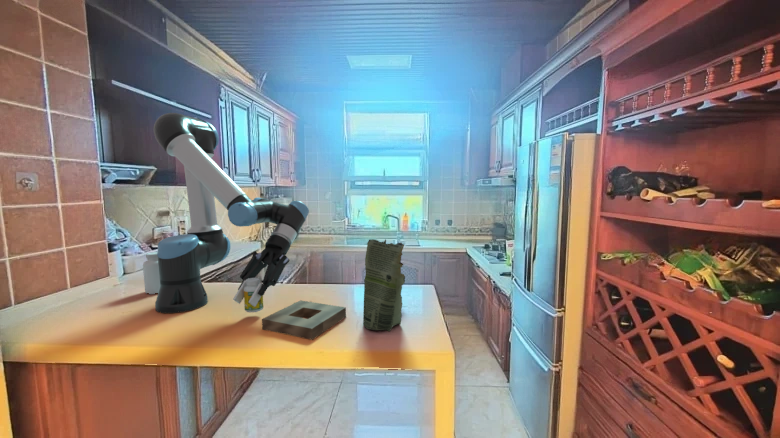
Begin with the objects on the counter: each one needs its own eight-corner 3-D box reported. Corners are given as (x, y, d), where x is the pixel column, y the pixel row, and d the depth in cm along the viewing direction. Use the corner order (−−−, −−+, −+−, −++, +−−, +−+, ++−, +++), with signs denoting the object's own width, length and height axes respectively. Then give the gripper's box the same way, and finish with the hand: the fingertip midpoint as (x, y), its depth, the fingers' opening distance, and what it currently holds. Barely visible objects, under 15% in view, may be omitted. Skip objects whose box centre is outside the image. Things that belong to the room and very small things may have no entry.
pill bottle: (139, 294, 130) (136, 254, 128) (157, 287, 138) (154, 250, 136) (158, 295, 128) (155, 255, 127) (174, 288, 136) (172, 251, 135)
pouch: (364, 318, 104) (363, 236, 102) (404, 318, 104) (403, 236, 102) (361, 334, 93) (360, 242, 91) (405, 333, 93) (405, 242, 91)
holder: (262, 329, 97) (261, 318, 97) (300, 309, 112) (300, 300, 112) (312, 339, 90) (311, 328, 90) (345, 316, 106) (345, 307, 105)
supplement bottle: (261, 305, 110) (260, 276, 109) (265, 310, 106) (264, 280, 105) (242, 308, 107) (241, 278, 106) (246, 314, 103) (245, 282, 102)
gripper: (308, 249, 115) (274, 313, 102) (265, 244, 122) (229, 304, 109) (297, 235, 110) (260, 301, 96) (253, 231, 117) (214, 292, 104)
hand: (244, 302), depth 103 cm, fingers closed on supplement bottle, 5 cm apart
